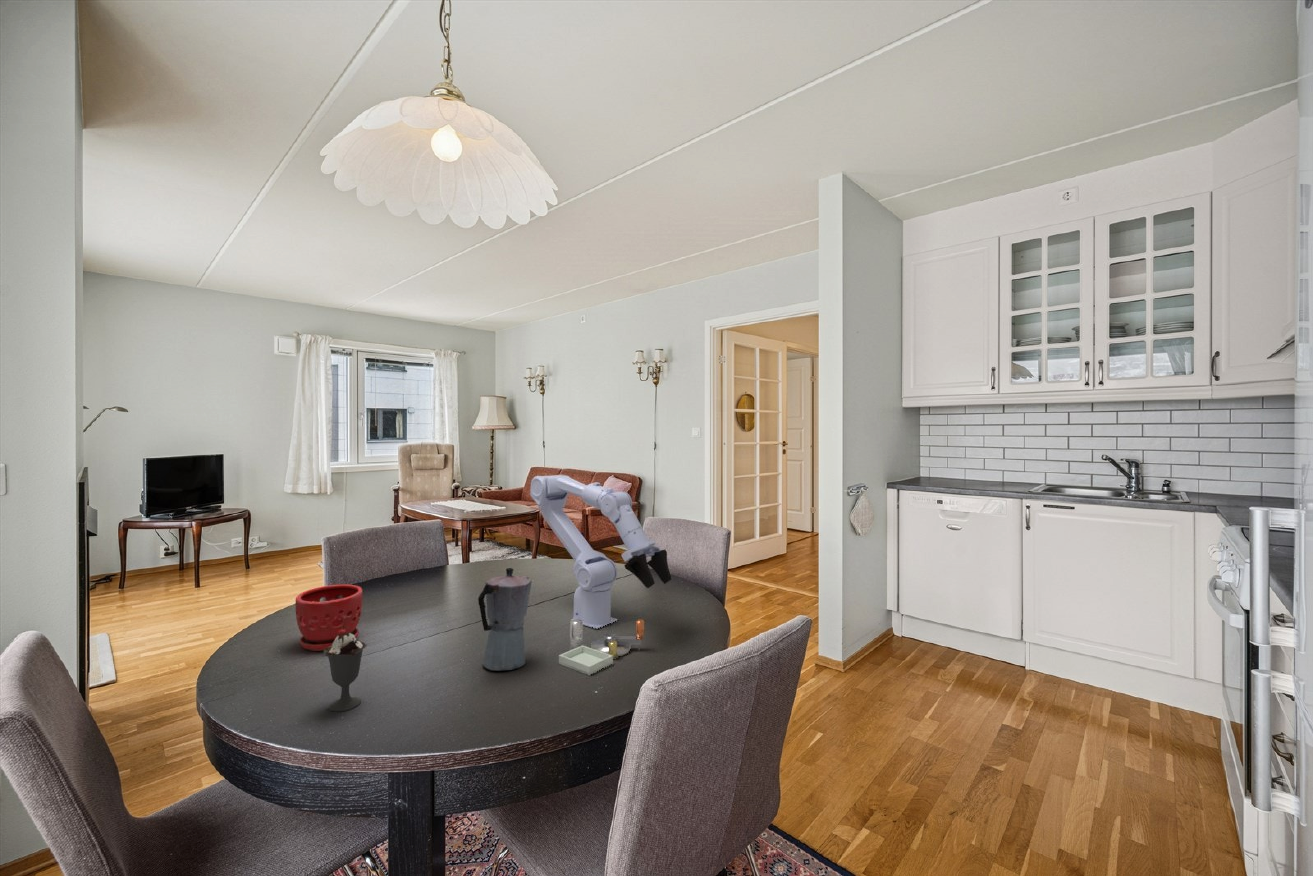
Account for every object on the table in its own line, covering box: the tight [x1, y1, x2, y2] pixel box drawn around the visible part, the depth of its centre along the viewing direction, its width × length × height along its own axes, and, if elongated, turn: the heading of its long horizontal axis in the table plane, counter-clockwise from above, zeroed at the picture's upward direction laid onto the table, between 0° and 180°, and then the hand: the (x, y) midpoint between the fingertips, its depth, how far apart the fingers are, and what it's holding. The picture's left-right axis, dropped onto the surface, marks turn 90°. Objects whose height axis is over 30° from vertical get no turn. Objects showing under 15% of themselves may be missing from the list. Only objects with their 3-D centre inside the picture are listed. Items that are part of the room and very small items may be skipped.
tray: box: [558, 645, 614, 677], centre depth 114 cm, size 9×7×2 cm
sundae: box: [323, 619, 368, 712], centre depth 95 cm, size 7×7×15 cm
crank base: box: [590, 637, 632, 660], centre depth 121 cm, size 9×9×3 cm
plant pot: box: [295, 584, 364, 652], centre depth 123 cm, size 13×13×12 cm
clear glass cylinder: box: [569, 618, 584, 651], centre depth 121 cm, size 3×3×6 cm
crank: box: [603, 619, 645, 646], centre depth 121 cm, size 9×3×5 cm, turn 93°
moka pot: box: [477, 567, 532, 672], centre depth 113 cm, size 10×15×20 cm, turn 161°
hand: (659, 583), depth 126 cm, fingers open, 7 cm apart
